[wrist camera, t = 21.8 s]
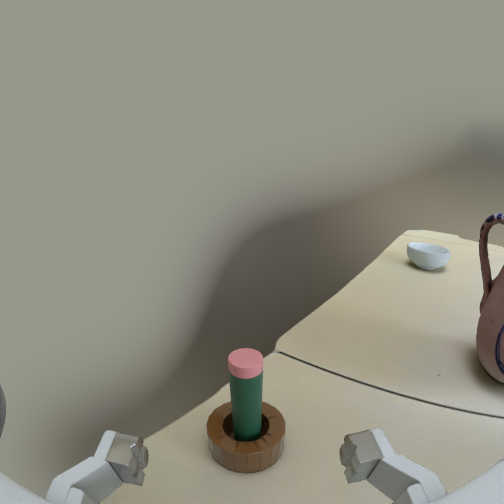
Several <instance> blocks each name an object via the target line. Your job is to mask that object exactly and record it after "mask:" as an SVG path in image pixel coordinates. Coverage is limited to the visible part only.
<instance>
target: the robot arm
mask: <svg viewBox="0 0 504 504" xmlns="http://www.w3.org/2000/svg"><path fill="white" fill-rule="evenodd" d="M344 442H345V443H344V444H343V445H341V448H340V460H341V464H342V465H344V466H345V467H346V469H345V471H344V473H345V476H346V479H347V482H348V484H349V483H353V482H358V481H362V480H366V479H367V481H368V482H369V483H371V484H372V485H373V486H374V487H376V488H377V489H378V490H380V491H381V492H382V493H384V494H385V495H386V496H388V497H389V498H390V499H392V500H393V501H394V502H393V503H392V504H504V459H502V460H500V461H498V462H497V463H495V464H494V465H493V466H491V467H490V468H489V469H487V470H486V471H484V472H483V473H481V474H480V475H478V476H477V477H475V478H474V479H472V480H471V481H469V482H468V483H466V484H464V485H463V486H461V487H459V488H458V489H456V490H454V491H452V492H451V493H449V494H447V492H446V490H445V488H444V486H443V484H442V482H441V481H440V479H439V477H438V475H437V474H436V473H434V472H432V471H430V470H428V469H426V468H424V467H422V466H420V465H418V464H417V463H415V462H413V461H411V460H409V459H407V458H405V457H404V456H402V455H400V454H395V453H394V451H393V449H392V447H391V445H390V443H389V441H388V439H387V437H386V435H385V433H384V431H383V430H382V429H381V428H375V429H371V430H366V431H362V432H358V433H353V434H348V435H346V436H345V438H344ZM148 456H149V455H148V450H147V448H146V447H145V446H144V445H143V440H142V438H141V437H138V436H133V435H127V434H122V433H118V432H114V431H109V430H107V431H106V432H105V433H104V435H103V437H102V439H101V441H100V444H99V446H98V448H97V451H96V453H95V455H94V457H89V458H87V459H86V460H84V461H83V462H81V463H79V464H77V465H76V466H74V467H72V468H71V469H69V470H67V471H65V472H64V473H62V474H60V475H58V476H56V477H55V478H54V479H53V481H52V483H51V485H50V488H49V490H48V492H47V494H46V496H45V499H44V498H42V497H40V496H38V495H36V494H34V493H33V492H31V491H29V490H27V489H26V488H24V487H22V486H21V485H19V484H18V483H16V482H14V481H13V480H11V479H10V478H8V477H7V476H5V475H4V474H2V473H1V472H0V504H99V503H101V502H102V501H103V500H104V499H105V498H107V497H108V496H109V495H110V494H111V493H113V492H114V491H115V490H116V489H117V488H118V487H120V486H121V485H122V484H123V482H125V483H130V484H135V485H140V486H142V484H143V480H144V476H145V473H144V472H143V469H144V468H145V467H147V464H148Z"/></svg>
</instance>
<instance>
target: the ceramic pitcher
mask: <svg viewBox="0 0 504 504" xmlns="http://www.w3.org/2000/svg"><path fill="white" fill-rule="evenodd" d="M497 223H501V224H504V214H501V213H495V214H493V215H491V216H489V217H488V218H487V219H486V221H485V222H484V224H483V225H482V227H481V230H480V240H479V256H480V262H481V271H482V278H483V285H484V286H483V288H484V294H483V298H482V300H481V303H480V313H481V315H480V318H479V322H478V327H477V336H476V342H477V350H478V355H479V358H480V361H481V363H482V365H483V367H484V368H485V369H486V371H487V372H488V373H489V374H490V375H491V376H492V377H493V378H494V379H496V380H497V381H499V382H501V383H503V384H504V266H503V267H502V269H501V271H500V273H499V274H498V276H497V277H496V278H495V279H494V280H492V278H491V270H490V264H489V259H488V250H487V242H488V233H489V230H490V228H491V227H492V226H493V225H494V224H497Z"/></svg>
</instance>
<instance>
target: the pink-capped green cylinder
mask: <svg viewBox="0 0 504 504" xmlns="http://www.w3.org/2000/svg"><path fill="white" fill-rule="evenodd" d="M228 361H229V362H228V363H229V378H230V393H231V406H232V419H233V431H234V440H236V441H240V442H251V441H256V440H258V439H260V438H261V420H262V382H263V356H262V354H261V353H260V352H259V351H257V350H254V349H249V348H242V349H237V350H235V351H233V352H232V353H231V354H230V355H229V358H228Z"/></svg>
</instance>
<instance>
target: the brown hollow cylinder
mask: <svg viewBox="0 0 504 504" xmlns="http://www.w3.org/2000/svg"><path fill="white" fill-rule="evenodd" d="M206 425H207V434H208V439H209V444H210V449H211V452H212V455H213V457H214V458H215V460H216V461H217V462H218V463H219V464H221V465H222V466H223V467H225V468H227V469H229V470H232V471H235V472H240V473H252V472H258V471H261V470H264V469H266V468H268V467H270V466H271V465H273V464H274V463H275V462H276V461H277V460H278V459H279V457H280V455H281V453H282V450H283V443H284V436H285V420H284V418H283V416H282V414H281V413H280V412H279V411H278V410H277V409H276V408H275V407H273V406H271V405H270V404H268V403H266V402H262V420H261V438H260V439H258V440H256V441H251V442H240V441H236V440H234V431H233V419H232V406H231V402H228V403H225V404H223V405H221V406H220V407H218V408H216V409H215V410H214V411H213V412H212V414H211V415H210V416H209V418H208V421H207V424H206Z"/></svg>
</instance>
